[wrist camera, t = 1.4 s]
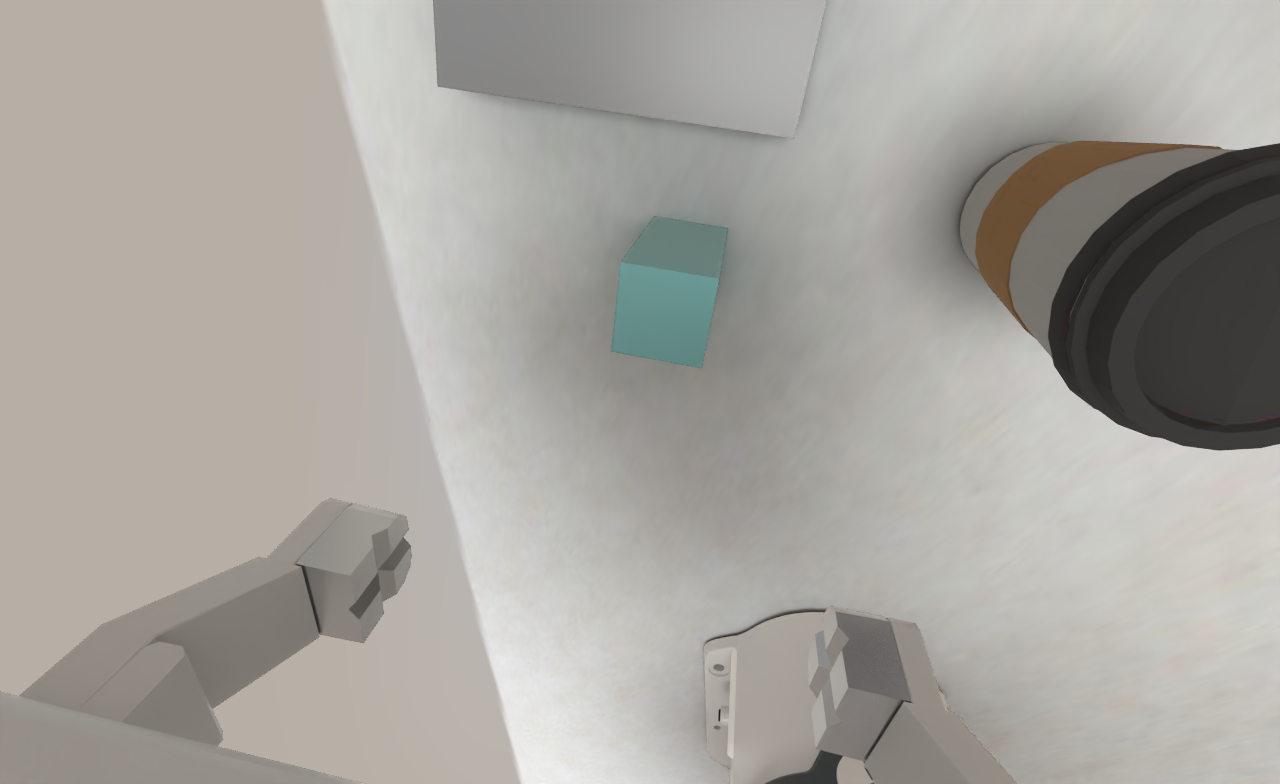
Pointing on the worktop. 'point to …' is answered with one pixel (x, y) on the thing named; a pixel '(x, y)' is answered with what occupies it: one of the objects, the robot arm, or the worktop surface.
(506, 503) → the worktop surface
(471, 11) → the socket
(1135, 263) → the coffee cup
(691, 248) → the plug
